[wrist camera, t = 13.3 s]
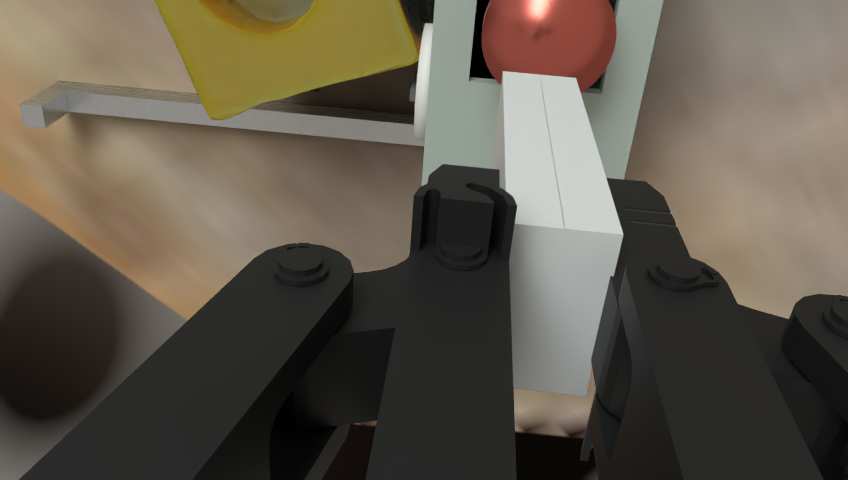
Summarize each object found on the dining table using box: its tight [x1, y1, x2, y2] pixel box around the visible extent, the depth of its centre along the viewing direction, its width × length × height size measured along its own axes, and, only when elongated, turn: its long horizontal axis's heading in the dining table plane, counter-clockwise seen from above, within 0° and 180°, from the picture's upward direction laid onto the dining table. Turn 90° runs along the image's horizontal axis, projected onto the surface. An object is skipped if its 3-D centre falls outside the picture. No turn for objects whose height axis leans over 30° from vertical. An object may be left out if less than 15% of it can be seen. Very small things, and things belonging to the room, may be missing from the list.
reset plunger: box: [482, 0, 617, 93], centre depth 28 cm, size 4×4×8 cm
